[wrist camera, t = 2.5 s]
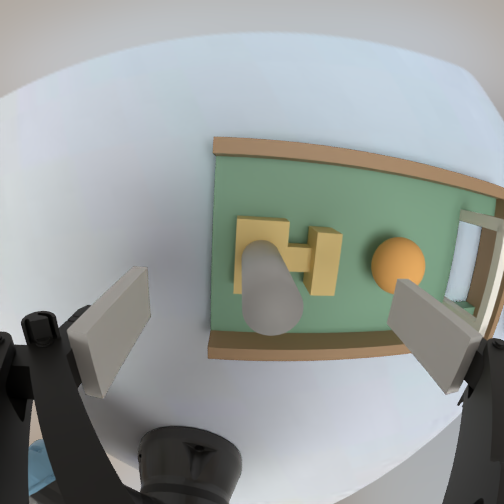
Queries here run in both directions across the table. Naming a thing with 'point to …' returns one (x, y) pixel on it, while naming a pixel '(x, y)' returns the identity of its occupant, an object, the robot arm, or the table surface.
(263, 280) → the kicker
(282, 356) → the pitch
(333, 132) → the table surface
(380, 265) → the ball
